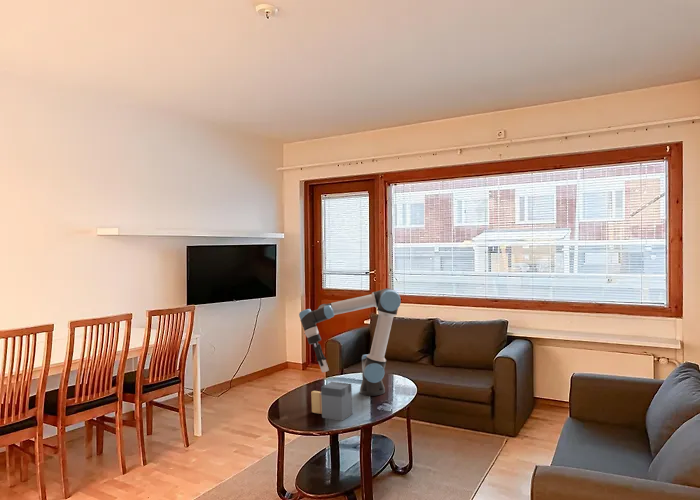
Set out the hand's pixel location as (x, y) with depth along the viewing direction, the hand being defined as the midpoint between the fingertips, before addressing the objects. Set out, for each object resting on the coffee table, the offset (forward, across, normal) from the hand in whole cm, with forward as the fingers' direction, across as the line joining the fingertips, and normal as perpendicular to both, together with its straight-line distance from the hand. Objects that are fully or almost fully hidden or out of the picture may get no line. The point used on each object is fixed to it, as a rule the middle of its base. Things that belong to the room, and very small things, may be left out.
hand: (325, 371), depth 281 cm
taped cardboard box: (+20, +11, -7) cm, 24 cm away
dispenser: (+24, +14, -1) cm, 27 cm away
